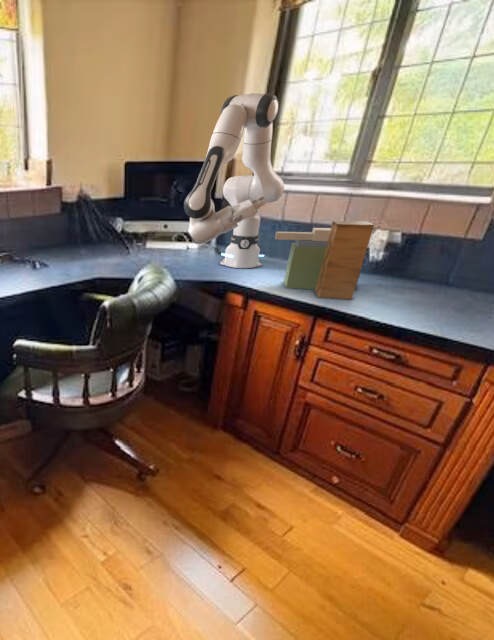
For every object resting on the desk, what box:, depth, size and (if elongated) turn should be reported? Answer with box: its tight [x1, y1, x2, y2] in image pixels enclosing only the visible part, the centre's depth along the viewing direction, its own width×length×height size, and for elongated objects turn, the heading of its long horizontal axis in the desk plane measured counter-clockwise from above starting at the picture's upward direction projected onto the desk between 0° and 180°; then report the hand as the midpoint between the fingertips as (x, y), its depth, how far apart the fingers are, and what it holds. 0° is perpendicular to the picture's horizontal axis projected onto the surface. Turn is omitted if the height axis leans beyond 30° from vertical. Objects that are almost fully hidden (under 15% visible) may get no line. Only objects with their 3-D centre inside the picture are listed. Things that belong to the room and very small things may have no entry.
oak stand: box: [314, 220, 375, 300], centre depth 152 cm, size 8×11×26 cm
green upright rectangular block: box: [283, 240, 327, 290], centre depth 166 cm, size 8×12×18 cm, turn 74°
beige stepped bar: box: [274, 227, 331, 241], centre depth 161 cm, size 5×21×4 cm, turn 73°
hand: (265, 199), depth 160 cm, fingers open, 8 cm apart
